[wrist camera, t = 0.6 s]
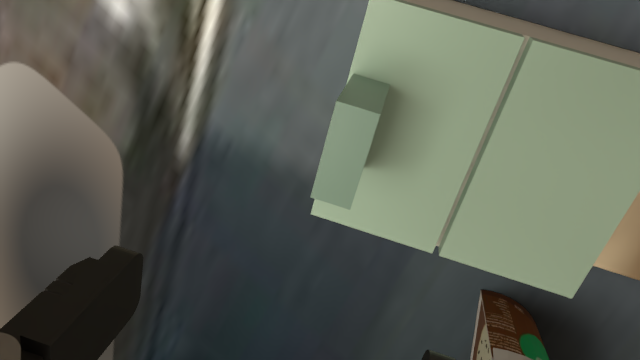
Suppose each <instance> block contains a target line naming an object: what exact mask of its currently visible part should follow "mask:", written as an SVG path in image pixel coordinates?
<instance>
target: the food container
mask: <svg viewBox="0 0 640 360" xmlns="http://www.w3.org/2000/svg"><path fill="white" fill-rule="evenodd" d="M470 360H549V358H548V355H547V352H546V350H545V347H544V344H543V342H542V339H541V337H540V334H539V331H538V329H537V326H536V323H535V321H534V319H533V318H532V316H531V315H530V313H529V312H528V311H527V310H526V309H525V308H524V307H523V306H522V305H520V304H519V303H518V302H516V301H514V300H513V299H511V298H509V297H507V296H505V295H502V294H499V293H496V292H493V291H487V290H481V291H480V298H479V304H478V311H477V318H476V324H475V331H474V338H473V345H472V351H471V358H470Z"/></svg>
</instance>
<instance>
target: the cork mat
mask: <svg viewBox="0 0 640 360" xmlns="http://www.w3.org/2000/svg"><path fill="white" fill-rule="evenodd" d="M593 266H596V267H599V268H602V269H605V270H608V271H611V272H615V273H618V274H621V275H624V276H627V277H630V278H634V279H637V280H640V191H639V193H638V194H637V196H636V198H635V199H634V201H633V202H632V204H631V205H630V207H629V209H628V210H627V212H626V213H625V215H624V217H623V218H622V220H621V221H620V223H619V225H618V226H617V228H616V229H615V231H614V233H613V234H612V236H611V237H610V239H609V241H608V242H607V244H606V245H605V247H604V249H603V250H602V252H601V253H600V255H599V256H598V258H597V260H596V261H595V263H594V264H593Z"/></svg>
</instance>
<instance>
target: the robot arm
mask: <svg viewBox="0 0 640 360" xmlns="http://www.w3.org/2000/svg"><path fill="white" fill-rule="evenodd" d="M142 268H143V256H142V254H140V253H137V252H134V251H131V250H128V249H125V248H122V247H119V246H114V247H112V248H110V249H109V250H108V251H107V252H106V253H105V254H104V255H103V256H102V257H101V258H100V259H99V260H96V259H93V258H90V257H89V258H87V259H85V260H82V261H80V262H78V263H76V264H74V265H71V266H70V267H69V268H68V269H66V270H65V271H64V272H63V273H62V274H61V275H60V276H59V277H58V278H57V279H56V281H53V282H52V283H51V284H50V285H49V286H48V287H47V288H46V289H45V291H44V292H41V293H40V294H39V295H38V296H36V297H35V298H34V299H33V300H32V301H31V302H30V303H29V304H28V305H27V306H25V308H23V309H22V310H21V311H20V312H19V313H18V314H17V315H16V316H14V317H13V318H12V319H11V320H10V321H9V322H8V323H7V324H5V325H4V326H3V327H2V328H1V329H0V360H97V359H98V358H99V357H100V355H102V353H103V352H104V351H105V349H106V348H107V347H108V346H109V345H110V343H111V342H112V341H113V340H114V338H115V337H116V336H117V335H118V333H119V332H120V331H121V330H122V328H123V327H124V326H125V325H126V323H127V322H128V321H129V320H130V318H131V317H132V315H133V314H134V312H135V310H136V308H137V305H138V303H139V299H140V292H141V280H142ZM422 360H456V359H455V358H452V357H449V356H446V355H443V354H440V353H437V352H434V351H431V350H426V352H425V353H424V355H423V357H422Z"/></svg>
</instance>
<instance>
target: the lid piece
mask: <svg viewBox="0 0 640 360" xmlns="http://www.w3.org/2000/svg"><path fill="white" fill-rule="evenodd" d="M524 39H525V37H524V36H523V35H522V34H519V33H515V32H512V31H508V30H505V29H501V28H498V27H494V26H491V25H487V24H484V23H480V22H477V21H473V20H470V19H466V18H463V17H459V16H456V15H452V14H449V13H445V12H442V11H438V10H435V9H431V8H428V7H424V6H421V5H417V4H414V3H410V2H407V1H403V0H369V4H368V7H367V11H366V15H365V18H364V22H363V26H362V29H361V33H360V37H359V40H358V44H357V48H356V51H355V55H354V59H353V62H352V66H351V69H350V73H349V77H348V80H347V84H346V86H345V88H344V89H343V91H342V93H341V94H340V96H339V97H338V99H337V101H336V104H335V108H334V112H333V115H332V119H331V123H330V127H329V130H328V134H327V138H326V141H325V145H324V149H323V153H322V156H321V160H320V164H319V167H318V171H317V175H316V179H315V182H314V186H313V190H312V193H311V198H314V199H315V201H314V204H313V208H312V212H311V214H312V215H315V216H318V217H321V218H324V219H327V220H330V221H334V222H337V223H340V224H343V225H346V226H349V227H352V228H355V229H358V230H361V231H364V232H368V233H371V234H374V235H377V236H380V237H383V238H386V239H389V240H392V241H395V242H398V243H401V244H405V245H408V246H411V247H414V248H417V249H420V250H423V251H426V252H429V253H433V250H434V248H435V246H436V244H437V241H438V239H439V237H440V234H441V232H442V230H443V227H444V225H445V223H446V220H447V218H448V216H449V213H450V211H451V209H452V206H453V204H454V202H455V199H456V197H457V195H458V192H459V190H460V188H461V185H462V183H463V181H464V178H465V176H466V174H467V171H468V169H469V167H470V164H471V162H472V160H473V157H474V155H475V153H476V150H477V148H478V146H479V143H480V141H481V139H482V136H483V134H484V132H485V129H486V127H487V125H488V122H489V120H490V118H491V115H492V113H493V111H494V108H495V106H496V104H497V102H498V99H499V97H500V95H501V92H502V90H503V88H504V85H505V83H506V81H507V78H508V76H509V74H510V71H511V69H512V67H513V64H514V62H515V60H516V57H517V55H518V53H519V50H520V48H521V46H522V43H523V41H524Z"/></svg>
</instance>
